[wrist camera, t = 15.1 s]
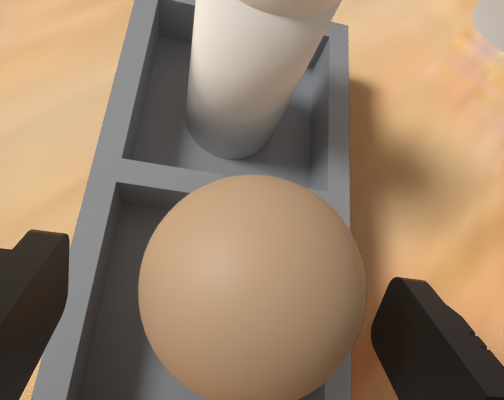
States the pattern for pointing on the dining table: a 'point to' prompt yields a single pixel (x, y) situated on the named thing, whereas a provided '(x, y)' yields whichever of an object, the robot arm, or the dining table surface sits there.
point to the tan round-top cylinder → (252, 290)
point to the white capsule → (248, 68)
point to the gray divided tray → (175, 201)
